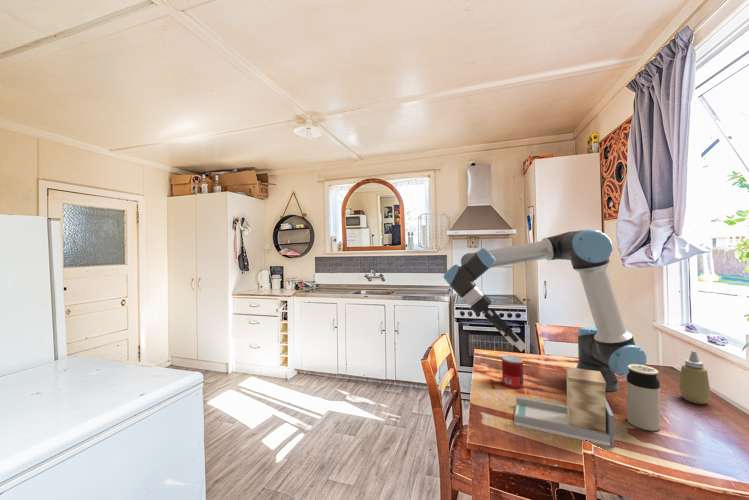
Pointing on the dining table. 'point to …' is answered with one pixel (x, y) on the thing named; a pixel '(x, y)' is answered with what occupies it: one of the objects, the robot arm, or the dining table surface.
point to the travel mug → (643, 397)
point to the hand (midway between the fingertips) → (519, 346)
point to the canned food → (512, 371)
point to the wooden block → (586, 399)
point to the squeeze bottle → (694, 381)
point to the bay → (559, 421)
